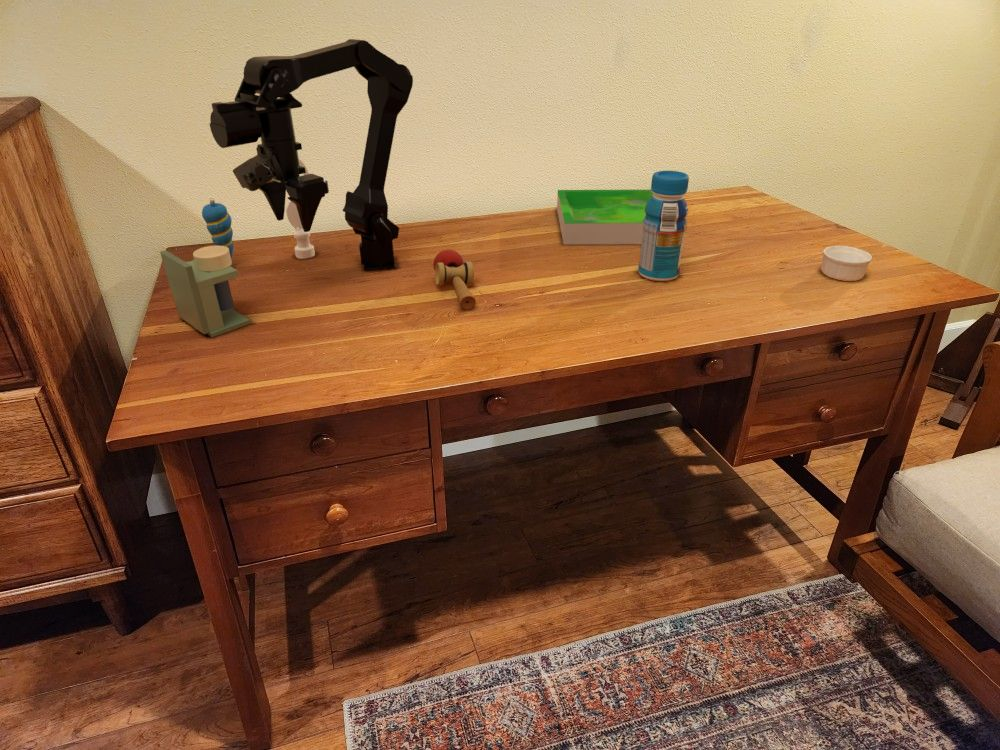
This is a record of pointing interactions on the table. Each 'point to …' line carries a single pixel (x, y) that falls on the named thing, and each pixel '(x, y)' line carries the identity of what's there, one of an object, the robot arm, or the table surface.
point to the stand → (200, 296)
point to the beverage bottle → (664, 226)
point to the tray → (602, 216)
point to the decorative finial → (300, 229)
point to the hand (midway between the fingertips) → (293, 225)
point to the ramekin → (845, 263)
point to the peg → (214, 261)
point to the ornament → (219, 224)
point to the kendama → (455, 275)
